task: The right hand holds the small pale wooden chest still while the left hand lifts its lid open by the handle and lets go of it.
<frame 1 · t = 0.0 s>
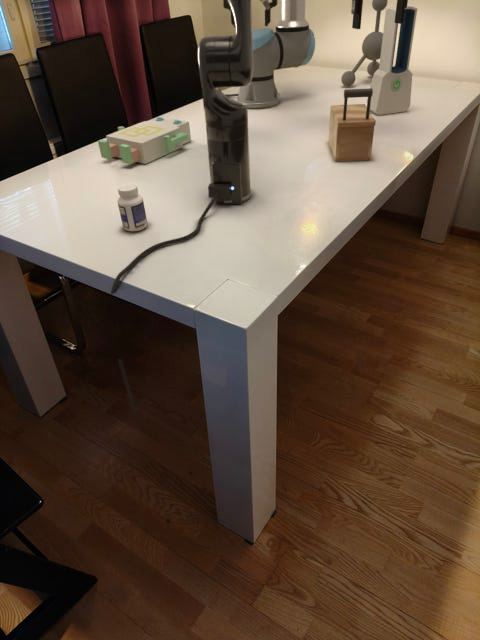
left hand: (251, 26, 133), 29 cm above the table, tool pointing down, fingers open, 8 cm apart
right hand: (377, 26, 131), 28 cm above the table, tool pointing down, fingers open, 13 cm apart
pill bottle: (135, 227, 105), on the table
molecular model: (365, 84, 196), on the table
lid: (353, 100, 128), point 13 cm above the table, hinge at 0.0°
chest: (348, 151, 136), on the table
electronic device: (387, 111, 165), on the table
decorative block: (148, 151, 144), on the table
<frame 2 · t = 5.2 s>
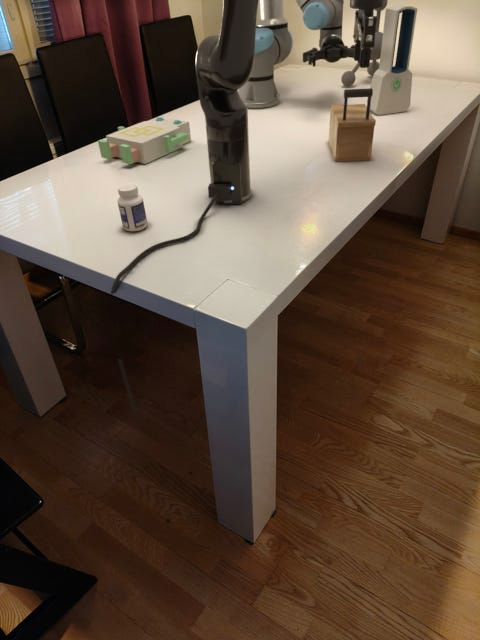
left hand: (361, 63, 117), 23 cm above the table, tool pointing down, fingers open, 8 cm apart
right hand: (337, 60, 146), 18 cm above the table, tool horizontal, fingers open, 13 cm apart
nothing on the table moved.
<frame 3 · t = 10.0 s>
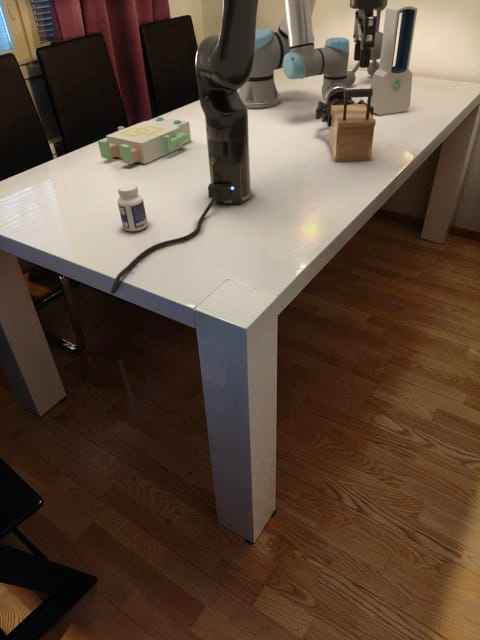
left hand: (361, 63, 117), 23 cm above the table, tool pointing down, fingers open, 8 cm apart
right hand: (348, 120, 136), 7 cm above the table, tool horizontal, fingers closed on chest, 9 cm apart
chest: (348, 151, 136), on the table, touching right hand
everything else where it was.
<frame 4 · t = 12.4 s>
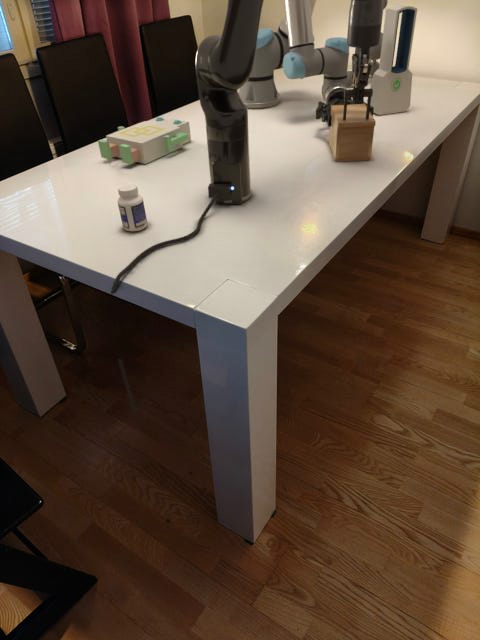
left hand: (357, 101, 122), 14 cm above the table, tool pointing down, fingers closed on lid, 2 cm apart
right hand: (348, 120, 136), 7 cm above the table, tool horizontal, fingers closed on chest, 9 cm apart
lid: (353, 100, 128), point 13 cm above the table, hinge at -0.1°, touching left hand
chest: (348, 150, 136), on the table, touching right hand
everything else where it was.
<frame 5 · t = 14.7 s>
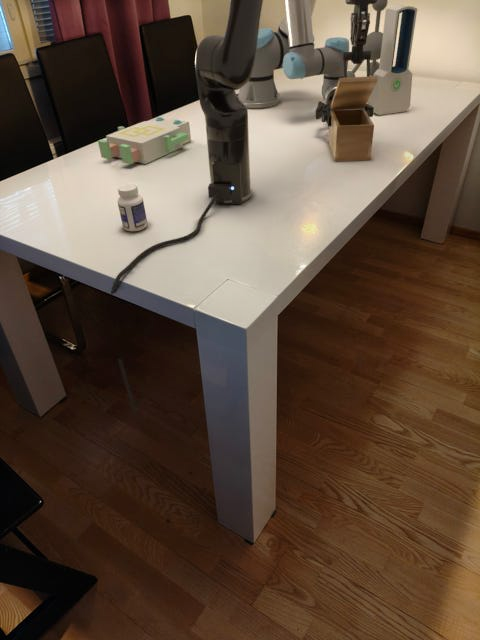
left hand: (356, 62, 123), 22 cm above the table, tool pointing down, fingers closed on lid, 2 cm apart
right hand: (348, 120, 136), 7 cm above the table, tool horizontal, fingers closed on chest, 9 cm apart
lid: (352, 80, 128), point 17 cm above the table, hinge at 36.8°, touching left hand
chest: (348, 150, 136), on the table, touching right hand
everything else where it was.
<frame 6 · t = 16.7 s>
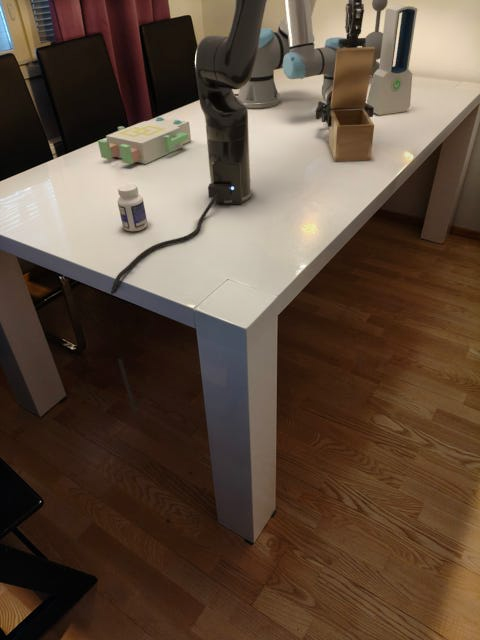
left hand: (351, 50, 129), 23 cm above the table, tool pointing down, fingers open, 3 cm apart
right hand: (348, 121, 136), 7 cm above the table, tool horizontal, fingers closed on chest, 9 cm apart
lid: (350, 71, 131), point 19 cm above the table, hinge at 69.9°
chest: (348, 151, 136), on the table, touching right hand
everything else where it was.
when the right hand's fingers open (7 cm above the table, at t = 20.1 s): chest stays where it is, on the table.
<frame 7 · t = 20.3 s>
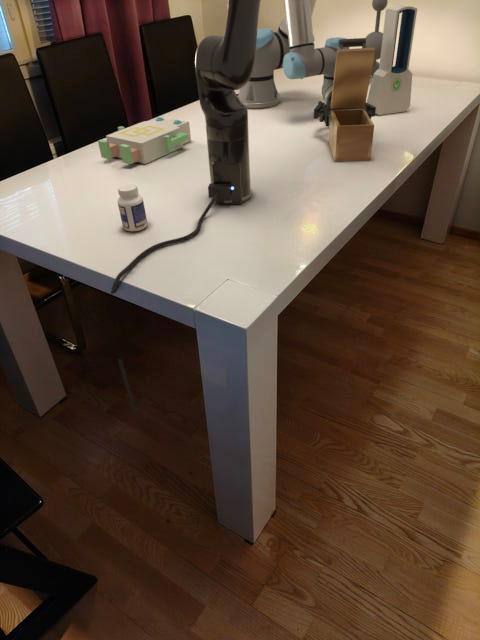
right hand: (348, 120, 136), 7 cm above the table, tool horizontal, fingers open, 11 cm apart
lid: (350, 71, 131), point 19 cm above the table, hinge at 68.3°
chest: (348, 151, 136), on the table
everything else where it was.
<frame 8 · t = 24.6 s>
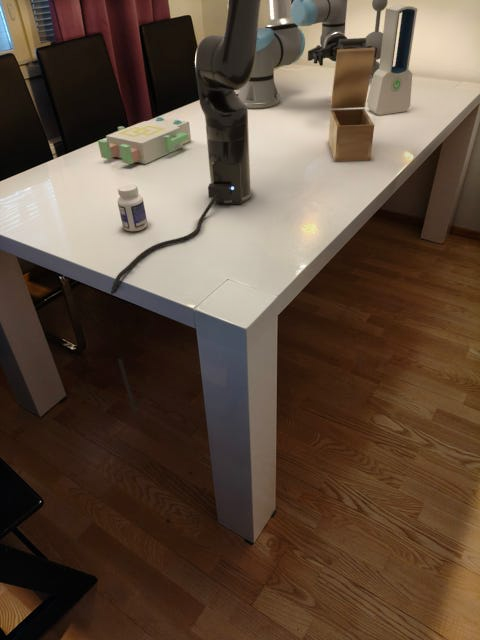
right hand: (345, 59, 138), 20 cm above the table, tool horizontal, fingers open, 13 cm apart
nothing on the table moved.
at the end: lid at +68° (first picture: +0°); the left hand is holding nothing; the right hand is holding nothing; chest tilted 0°; chest never tilted more than 1° during the clip; chest moved 0.1 cm from its start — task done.
